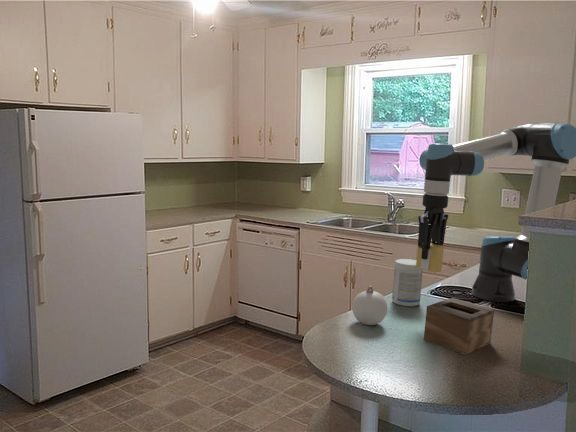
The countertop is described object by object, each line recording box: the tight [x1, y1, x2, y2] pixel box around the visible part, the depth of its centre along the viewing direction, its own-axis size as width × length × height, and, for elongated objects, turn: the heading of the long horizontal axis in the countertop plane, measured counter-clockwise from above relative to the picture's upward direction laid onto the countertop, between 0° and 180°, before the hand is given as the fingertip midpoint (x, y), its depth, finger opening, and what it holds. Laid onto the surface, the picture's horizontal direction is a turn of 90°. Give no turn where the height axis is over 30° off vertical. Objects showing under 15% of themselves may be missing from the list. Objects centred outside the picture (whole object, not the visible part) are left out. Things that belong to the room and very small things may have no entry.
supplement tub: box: [391, 258, 424, 307], centre depth 185 cm, size 10×10×15 cm
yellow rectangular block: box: [415, 242, 445, 274], centre depth 168 cm, size 4×7×8 cm, turn 42°
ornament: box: [352, 285, 388, 326], centre depth 162 cm, size 10×10×12 cm
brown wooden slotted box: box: [423, 297, 495, 356], centre depth 152 cm, size 14×13×10 cm
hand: (428, 268), depth 168 cm, fingers closed on yellow rectangular block, 3 cm apart
